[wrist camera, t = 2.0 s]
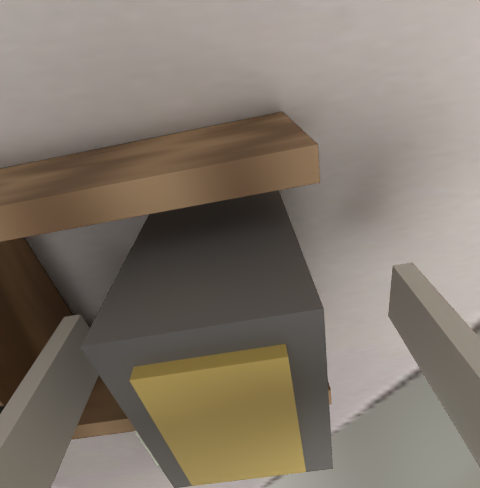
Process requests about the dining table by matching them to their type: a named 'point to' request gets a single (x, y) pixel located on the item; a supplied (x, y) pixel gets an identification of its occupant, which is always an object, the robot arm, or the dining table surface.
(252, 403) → the grey box yellow panel
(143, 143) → the bay
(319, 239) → the dining table surface
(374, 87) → the dining table surface
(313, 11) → the dining table surface
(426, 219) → the dining table surface
